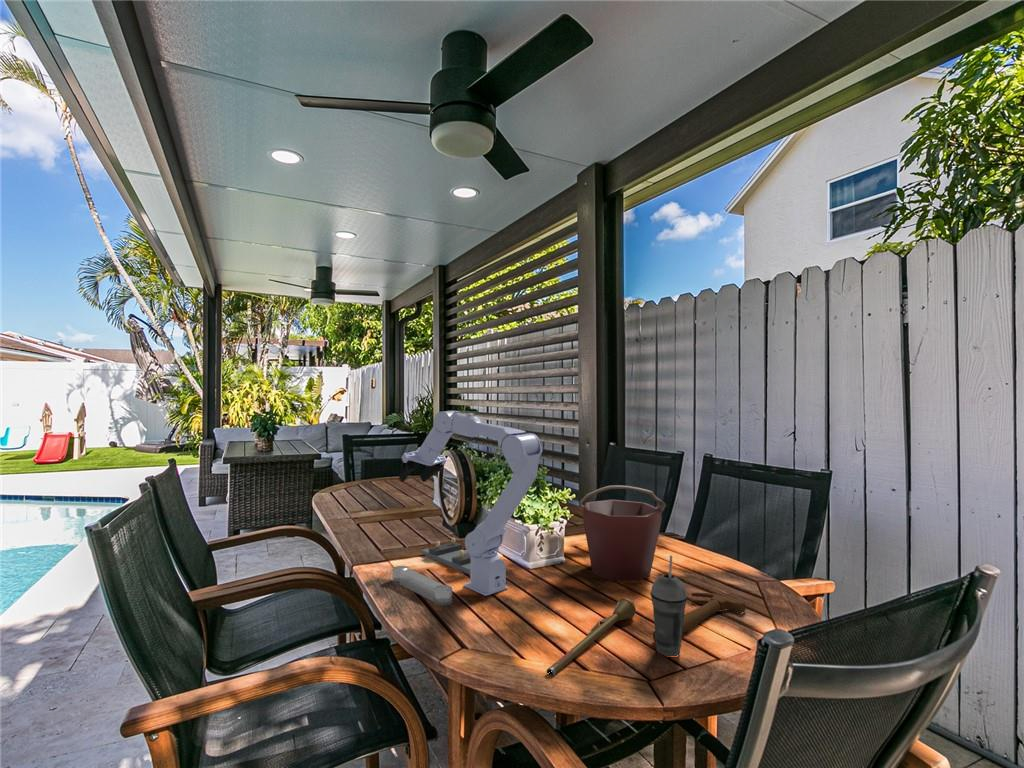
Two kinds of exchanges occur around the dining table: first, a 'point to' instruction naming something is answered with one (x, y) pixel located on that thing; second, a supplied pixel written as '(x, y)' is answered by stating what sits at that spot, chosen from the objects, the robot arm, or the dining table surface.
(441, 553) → the peg rack
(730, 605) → the hammer
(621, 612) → the panzerfaust rocket launcher
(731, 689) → the dining table surface
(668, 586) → the beverage cup
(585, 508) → the bucket
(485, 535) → the robot arm
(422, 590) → the grey bar
